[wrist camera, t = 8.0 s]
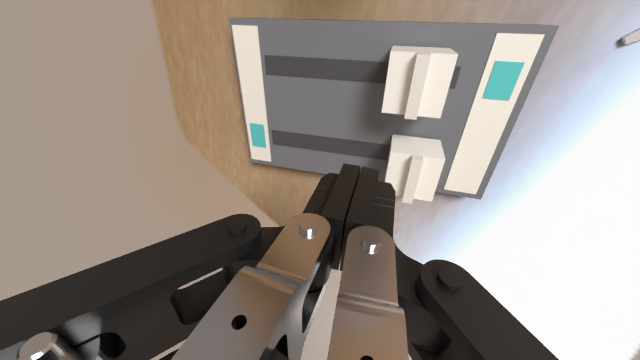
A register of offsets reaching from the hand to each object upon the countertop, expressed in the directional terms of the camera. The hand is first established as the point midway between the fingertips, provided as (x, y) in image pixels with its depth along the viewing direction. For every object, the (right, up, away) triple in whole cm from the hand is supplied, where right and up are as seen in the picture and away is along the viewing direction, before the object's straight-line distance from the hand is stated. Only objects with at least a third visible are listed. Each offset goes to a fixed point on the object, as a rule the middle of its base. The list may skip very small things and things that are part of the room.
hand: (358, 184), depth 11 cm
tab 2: (+7, +2, +13) cm, 14 cm away
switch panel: (+3, +7, +14) cm, 16 cm away
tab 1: (+6, +8, +9) cm, 13 cm away
